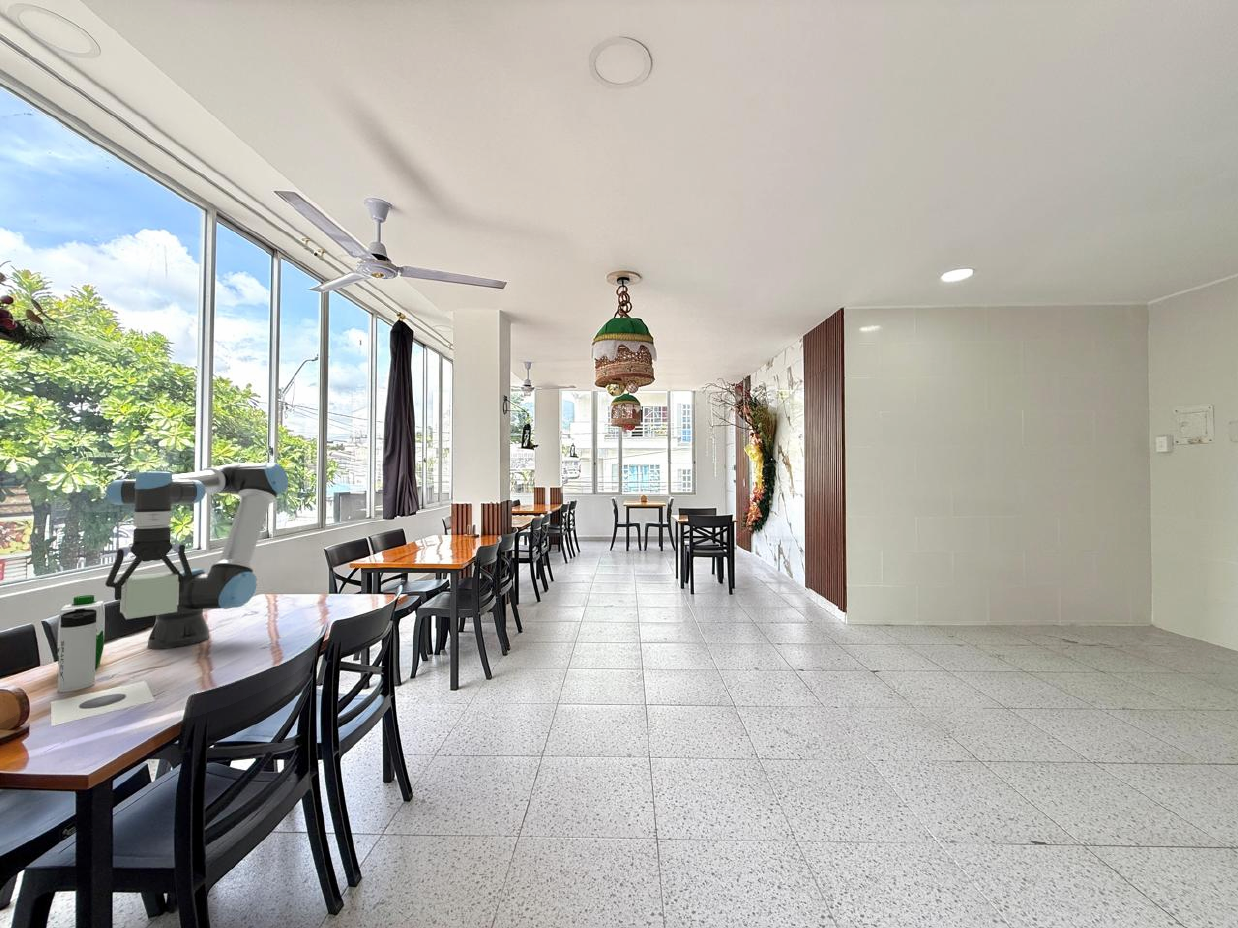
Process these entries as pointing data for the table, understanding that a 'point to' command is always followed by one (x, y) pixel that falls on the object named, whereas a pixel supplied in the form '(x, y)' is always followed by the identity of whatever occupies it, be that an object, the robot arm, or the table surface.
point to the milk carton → (89, 603)
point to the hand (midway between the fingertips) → (149, 608)
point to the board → (99, 702)
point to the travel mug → (77, 650)
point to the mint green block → (150, 594)
